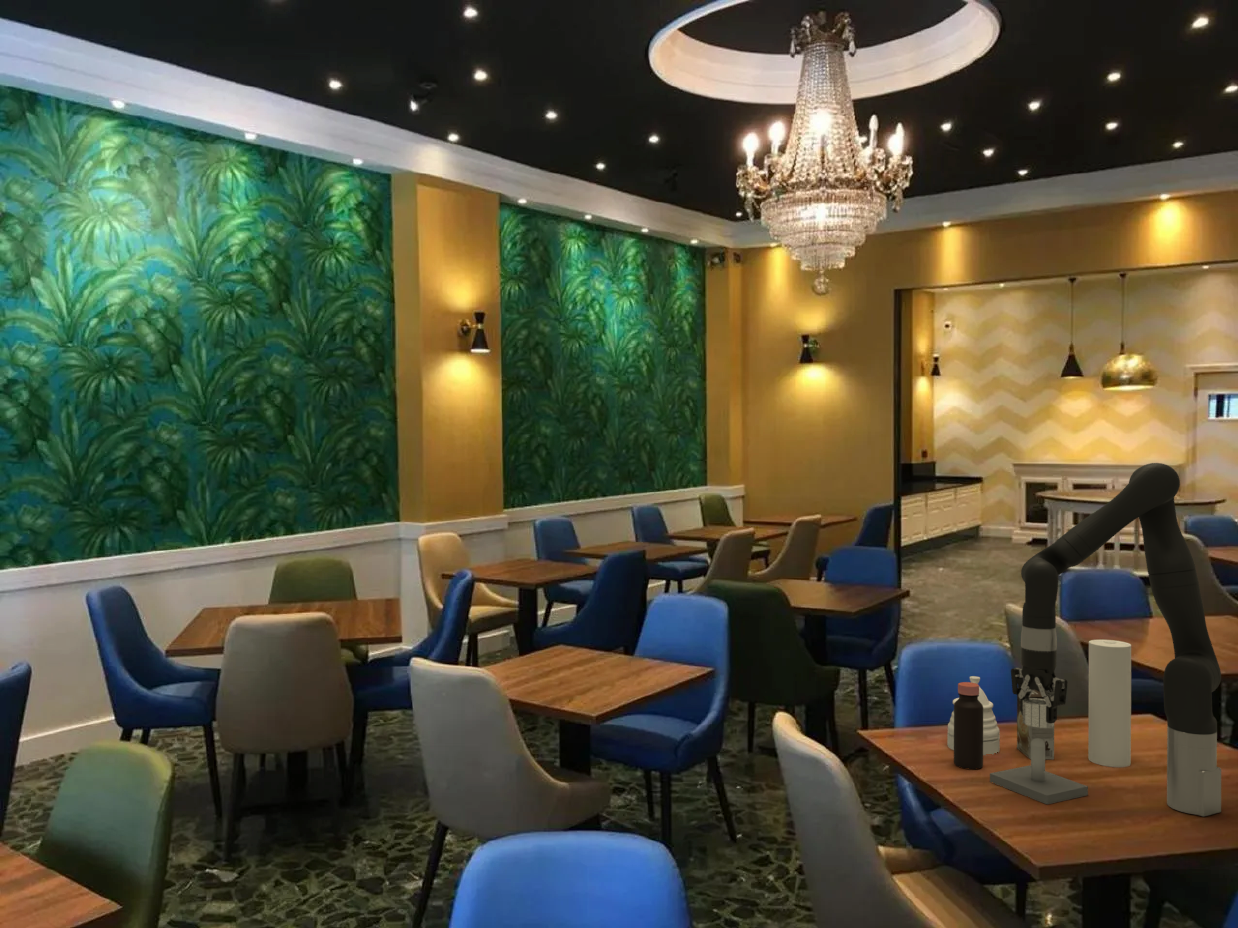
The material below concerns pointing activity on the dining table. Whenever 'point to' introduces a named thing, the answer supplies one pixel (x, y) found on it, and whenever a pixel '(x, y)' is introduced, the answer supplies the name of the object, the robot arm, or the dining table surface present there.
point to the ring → (1035, 713)
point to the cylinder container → (1109, 703)
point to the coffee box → (1033, 733)
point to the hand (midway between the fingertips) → (1038, 718)
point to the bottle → (968, 727)
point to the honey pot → (989, 724)
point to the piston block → (1039, 779)
